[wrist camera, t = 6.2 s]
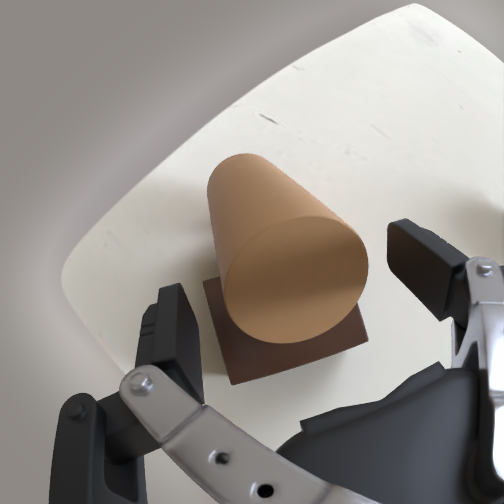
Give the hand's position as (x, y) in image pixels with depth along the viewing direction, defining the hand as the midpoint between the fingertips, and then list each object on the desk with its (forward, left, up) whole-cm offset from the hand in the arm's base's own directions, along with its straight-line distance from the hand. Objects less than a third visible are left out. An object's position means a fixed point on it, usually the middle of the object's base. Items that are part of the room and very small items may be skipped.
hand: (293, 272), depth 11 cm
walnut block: (0, -1, -10) cm, 10 cm away
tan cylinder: (+1, +3, -10) cm, 10 cm away
